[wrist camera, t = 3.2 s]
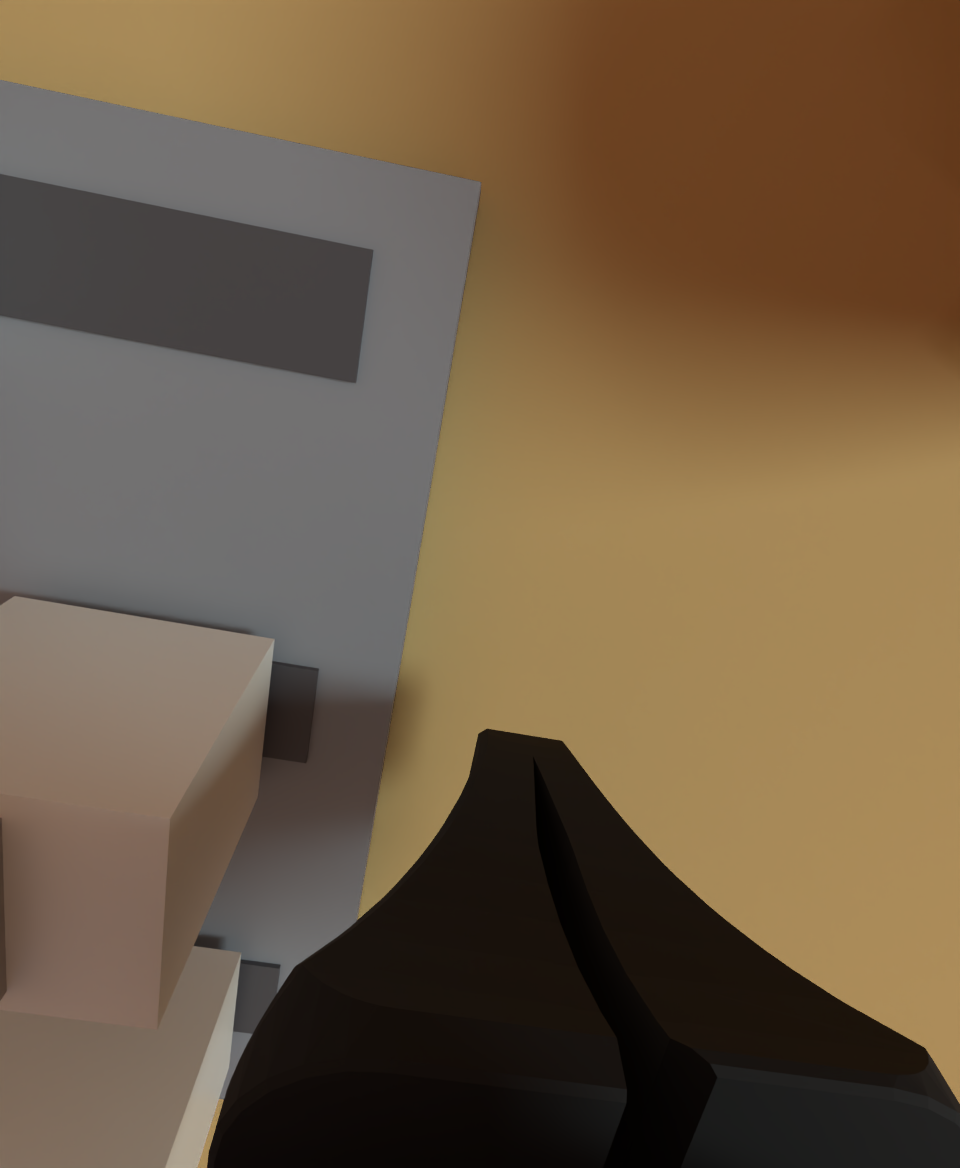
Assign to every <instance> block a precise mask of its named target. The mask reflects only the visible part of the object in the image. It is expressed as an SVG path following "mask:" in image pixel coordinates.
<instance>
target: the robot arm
mask: <svg viewBox="0 0 960 1168" xmlns="http://www.w3.org/2000/svg"><path fill="white" fill-rule="evenodd" d="M207 1168H960V1104H959V1102H958V1101H957V1099H956V1097H955V1096H954V1094H953V1092H952V1091H951V1089H950V1087H949V1086H948V1084H947V1082H946V1081H945V1079H944V1077H943V1076H942V1074H941V1073H940V1071H939V1069H938V1068H937V1066H936V1064H935V1063H934V1061H933V1060H932V1058H931V1057H930V1055H929V1054H928V1052H927V1051H926V1049H925V1048H924V1047H922V1046H921V1045H919V1044H917V1043H915V1042H913V1041H912V1040H910V1039H908V1038H906V1037H904V1036H903V1035H901V1034H899V1033H897V1032H896V1031H894V1030H892V1029H890V1028H888V1027H887V1026H885V1025H883V1024H881V1023H879V1022H878V1021H876V1020H874V1019H872V1018H870V1017H869V1016H867V1015H865V1014H863V1013H862V1012H860V1011H858V1010H856V1009H854V1008H853V1007H851V1006H849V1005H847V1004H845V1003H844V1002H842V1001H841V1000H839V999H837V998H836V997H834V996H832V995H831V994H829V993H828V992H826V991H825V990H823V989H822V988H820V987H819V986H817V985H815V984H814V983H812V982H811V981H809V980H808V979H806V978H805V977H803V976H802V975H800V974H799V973H797V972H795V971H794V970H792V969H791V968H790V967H788V966H787V965H785V964H784V963H782V962H781V961H780V960H778V959H777V958H775V957H774V956H772V955H771V954H770V953H768V952H767V951H765V950H764V949H763V948H761V947H760V946H759V945H757V944H756V943H755V942H753V941H752V940H751V939H750V938H748V937H747V936H746V935H744V934H743V933H742V932H740V931H739V930H738V929H737V928H735V927H734V926H733V925H731V924H730V923H729V922H727V921H726V920H725V919H724V918H723V917H721V916H720V915H719V914H718V913H717V912H715V911H714V910H713V909H712V908H711V907H709V906H708V905H707V904H706V903H705V902H704V901H703V900H702V899H700V898H699V897H698V896H697V895H696V894H695V893H694V892H693V891H692V890H691V889H690V888H688V887H687V886H686V885H685V884H684V883H683V882H682V881H681V880H680V879H679V878H677V877H676V876H675V875H674V874H673V873H672V872H671V871H670V870H669V869H668V868H667V867H666V866H665V865H664V864H663V863H662V862H661V861H660V860H659V859H658V858H657V856H656V855H655V854H654V853H653V852H652V851H651V850H650V849H649V848H648V847H647V846H646V845H645V844H644V842H643V841H642V840H641V839H640V838H639V837H638V836H637V835H636V834H635V833H634V831H633V830H632V829H631V828H630V827H629V826H628V825H627V823H626V822H625V821H624V820H623V819H622V817H621V816H620V815H619V814H618V813H617V811H616V810H615V809H614V808H613V807H612V805H611V804H610V803H609V802H608V800H607V799H606V798H605V797H604V795H603V794H602V793H601V791H600V790H599V789H598V788H597V786H596V785H595V784H594V782H593V781H592V780H591V778H590V777H589V776H588V774H587V773H586V772H585V770H584V769H583V768H582V766H581V765H580V764H579V762H578V761H577V760H576V758H575V757H574V756H573V754H572V753H571V752H570V750H569V749H568V748H567V746H566V745H565V744H564V743H563V741H560V740H553V739H547V738H541V737H535V736H529V735H522V734H516V733H510V732H504V731H498V730H491V729H486V730H484V731H482V732H481V733H479V734H478V738H477V743H476V748H475V752H474V757H473V761H472V766H471V771H470V775H469V778H468V781H467V783H466V785H465V787H464V789H463V791H462V794H461V795H460V797H459V799H458V801H457V803H456V804H455V806H454V808H453V809H452V811H451V813H450V814H449V816H448V818H447V819H446V821H445V823H444V824H443V826H442V828H441V829H440V831H439V832H438V833H437V835H436V836H435V838H434V839H433V841H432V842H431V843H430V845H429V846H428V847H427V849H426V850H425V851H424V853H423V854H422V855H421V856H420V858H419V859H418V860H417V861H416V863H415V864H414V865H413V866H412V867H411V868H410V869H409V871H408V872H407V873H406V874H405V875H404V876H403V877H402V878H401V880H400V881H399V882H398V883H397V884H396V885H395V886H394V887H393V888H392V889H391V890H390V891H389V892H388V893H387V894H386V895H385V896H384V897H383V898H382V899H381V900H380V901H379V902H378V903H377V904H375V905H374V906H373V907H372V908H371V909H370V910H369V911H368V912H366V913H365V914H364V915H363V916H362V917H361V918H360V919H358V920H357V921H356V922H355V923H354V924H353V925H352V926H351V927H349V928H348V929H347V930H346V931H344V932H343V933H342V934H340V935H339V936H338V937H336V938H335V939H334V940H332V941H331V942H329V943H328V944H326V945H325V946H324V947H322V948H321V949H319V950H318V951H316V952H315V953H314V954H312V955H311V956H309V957H308V958H306V959H305V960H303V961H302V962H301V963H299V964H298V965H296V966H295V967H294V968H293V970H292V971H291V973H290V974H289V976H288V977H287V979H286V980H285V982H284V983H283V985H282V986H281V988H280V989H279V991H278V993H277V994H276V996H275V997H274V999H273V1000H272V1002H271V1003H270V1005H269V1007H268V1008H267V1010H266V1012H265V1013H264V1015H263V1017H262V1018H261V1020H260V1022H259V1023H258V1025H257V1027H256V1029H255V1030H254V1032H253V1034H252V1036H251V1038H250V1040H249V1041H248V1043H247V1045H246V1047H245V1049H244V1051H243V1053H242V1055H241V1057H240V1059H239V1062H238V1064H237V1066H236V1069H235V1071H234V1073H233V1075H232V1078H231V1080H230V1083H229V1085H228V1088H227V1091H226V1094H225V1098H224V1101H223V1105H222V1108H221V1112H220V1115H219V1119H218V1122H217V1126H216V1129H215V1133H214V1136H213V1140H212V1143H211V1147H210V1150H209V1155H208V1165H207Z"/></svg>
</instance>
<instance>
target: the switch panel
mask: <svg viewBox="0 0 960 1168" xmlns="http://www.w3.org/2000/svg"><path fill="white" fill-rule="evenodd" d="M480 193H481V182H479V181H474V180H469V179H465V178H460V177H455V176H450V175H446V174H441V173H436V172H432V171H427V170H422V169H417V168H413V167H408V166H403V165H399V164H394V163H389V162H384V161H380V160H375V159H370V158H366V157H361V156H356V155H351V154H347V153H342V152H337V151H333V150H328V149H323V148H319V147H314V146H309V145H304V144H300V143H295V142H290V141H286V140H281V139H276V138H271V137H267V136H262V135H257V134H253V133H248V132H243V131H238V130H234V129H229V128H224V127H220V126H215V125H210V124H205V123H201V122H196V121H191V120H187V119H182V118H177V117H172V116H168V115H163V114H158V113H154V112H149V111H144V110H140V109H135V108H130V107H125V106H121V105H116V104H111V103H107V102H102V101H97V100H92V99H88V98H83V97H78V96H74V95H69V94H64V93H59V92H55V91H50V90H45V89H41V88H36V87H31V86H26V85H22V84H17V83H12V82H8V81H3V80H0V605H1V604H3V603H5V602H6V601H8V600H9V599H11V598H12V597H14V596H18V597H24V598H30V599H36V600H42V601H48V602H54V603H60V604H66V605H72V606H78V607H84V608H90V609H96V610H102V611H108V612H115V613H121V614H127V615H133V616H139V617H145V618H151V619H157V620H163V621H169V622H175V623H181V624H187V625H193V626H199V627H205V628H211V629H217V630H223V631H229V632H235V633H241V634H247V635H253V636H260V637H266V638H272V639H275V640H274V649H273V659H272V668H271V678H270V687H269V696H268V706H267V715H266V725H265V734H264V743H263V753H262V762H261V771H260V781H259V790H258V797H257V800H256V802H255V804H254V807H253V809H252V811H251V814H250V816H249V818H248V821H247V823H246V825H245V828H244V830H243V832H242V834H241V837H240V839H239V841H238V844H237V846H236V848H235V851H234V853H233V855H232V858H231V860H230V862H229V865H228V867H227V869H226V872H225V874H224V876H223V879H222V881H221V883H220V885H219V888H218V890H217V892H216V895H215V897H214V899H213V902H212V904H211V906H210V909H209V911H208V913H207V916H206V918H205V920H204V923H203V925H202V927H201V930H200V932H199V934H198V936H197V939H196V941H195V943H194V946H197V947H205V948H212V949H219V950H227V951H234V952H241V959H240V969H239V978H238V987H237V997H236V1006H235V1016H234V1025H233V1034H232V1044H231V1053H230V1063H229V1069H228V1072H227V1075H226V1078H225V1081H224V1084H223V1088H222V1091H221V1094H220V1097H219V1099H224V1098H225V1094H226V1091H227V1088H228V1085H229V1083H230V1080H231V1078H232V1075H233V1073H234V1071H235V1069H236V1066H237V1064H238V1062H239V1059H240V1057H241V1055H242V1053H243V1051H244V1049H245V1047H246V1045H247V1043H248V1041H249V1040H250V1038H251V1036H252V1034H253V1032H254V1030H255V1029H256V1027H257V1025H258V1023H259V1022H260V1020H261V1018H262V1017H263V1015H264V1013H265V1012H266V1010H267V1008H268V1007H269V1005H270V1003H271V1002H272V1000H273V999H274V997H275V996H276V994H277V993H278V991H279V989H280V988H281V986H282V985H283V983H284V982H285V980H286V979H287V977H288V976H289V974H290V973H291V971H292V970H293V968H294V967H295V966H296V965H298V964H299V963H301V962H302V961H303V960H305V959H306V958H308V957H309V956H311V955H312V954H314V953H315V952H316V951H318V950H319V949H321V948H322V947H324V946H325V945H326V944H328V943H329V942H331V941H332V940H334V939H335V938H336V937H338V936H339V935H340V934H342V933H343V932H344V931H346V930H347V929H348V928H349V927H351V926H352V925H353V924H354V923H355V922H356V921H357V917H358V912H359V906H360V900H361V894H362V888H363V882H364V876H365V870H366V864H367V859H368V853H369V847H370V841H371V835H372V829H373V823H374V817H375V811H376V806H377V800H378V794H379V788H380V782H381V776H382V770H383V764H384V758H385V753H386V747H387V741H388V735H389V729H390V723H391V717H392V711H393V705H394V700H395V694H396V688H397V682H398V676H399V670H400V664H401V658H402V652H403V647H404V641H405V635H406V629H407V623H408V617H409V611H410V605H411V599H412V594H413V588H414V582H415V576H416V570H417V564H418V558H419V552H420V546H421V541H422V535H423V529H424V523H425V517H426V511H427V505H428V499H429V493H430V488H431V482H432V476H433V470H434V464H435V458H436V452H437V446H438V440H439V435H440V429H441V423H442V417H443V411H444V405H445V399H446V393H447V387H448V382H449V376H450V370H451V364H452V358H453V352H454V346H455V340H456V334H457V329H458V323H459V317H460V311H461V305H462V299H463V293H464V287H465V281H466V276H467V270H468V264H469V258H470V252H471V246H472V240H473V234H474V228H475V223H476V217H477V211H478V205H479V199H480Z"/></svg>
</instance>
